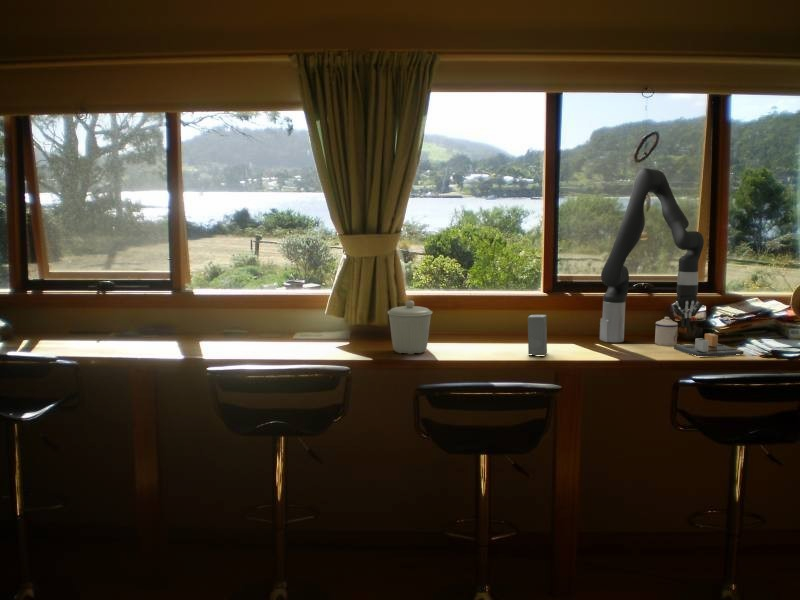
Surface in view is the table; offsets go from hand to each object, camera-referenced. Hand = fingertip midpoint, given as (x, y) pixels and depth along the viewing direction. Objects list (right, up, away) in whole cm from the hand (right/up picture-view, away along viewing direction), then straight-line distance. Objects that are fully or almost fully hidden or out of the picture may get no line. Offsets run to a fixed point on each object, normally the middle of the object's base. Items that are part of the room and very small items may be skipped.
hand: (685, 327), depth 273 cm
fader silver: (+8, -9, +3) cm, 12 cm away
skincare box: (-57, -11, +4) cm, 58 cm away
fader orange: (+16, -8, +13) cm, 22 cm away
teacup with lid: (+2, -8, +25) cm, 27 cm away
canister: (-108, -11, +10) cm, 108 cm away
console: (+13, -10, +8) cm, 18 cm away
